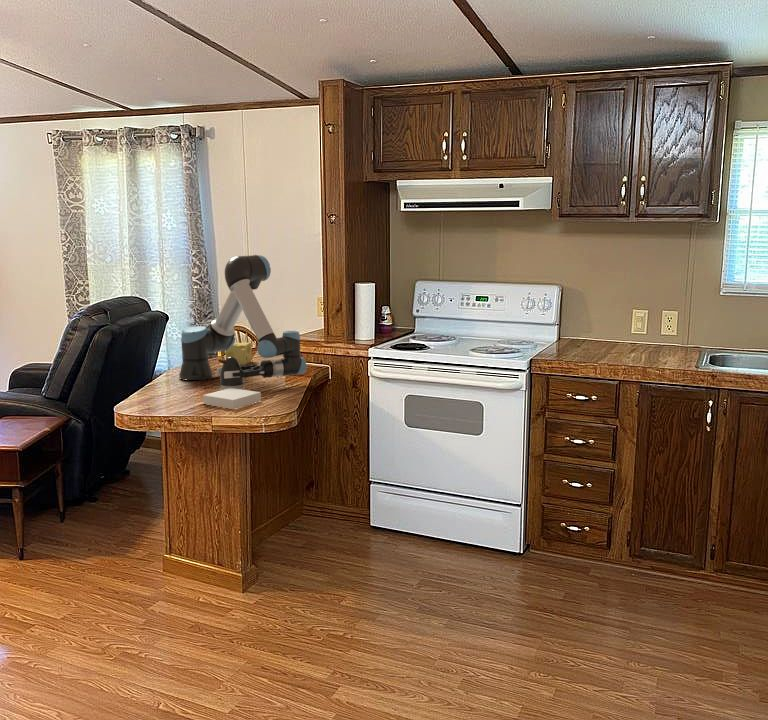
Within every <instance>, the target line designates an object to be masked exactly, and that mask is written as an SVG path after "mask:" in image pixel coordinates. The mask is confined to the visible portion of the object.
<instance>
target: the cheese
mask: <svg viewBox="0 0 768 720" xmlns="http://www.w3.org/2000/svg"><path fill="white" fill-rule="evenodd" d="M252 351H253V349H252V343H251V342H234V344H233V346H232V347H231V348H230V349H228V350H225V360H226V359H227V358H228V357H234V358H236V359H237V361H238V362H239V364H240V365H248V364H249V363H252V356H253V352H252Z"/></svg>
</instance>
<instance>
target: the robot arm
mask: <svg viewBox="0 0 768 720" xmlns="http://www.w3.org/2000/svg"><path fill="white" fill-rule="evenodd" d="M224 267H225V268H224V279H225V282H226V285H227V287H228V289H229V291H230V292H229V294H228V297H227V298H226V299H225V302H224V304H223V306H222V308H221V309H220V312H219V314H218V316H217V318H216V319H213V320H212V321H211V322H210V324H209V327H206V326H202V325H199V326H197V325H196V326H191V327H187V328H185V329H183V330H182V331H181V339H180V341H181V355H182V356H181V357H182V359H181V360H182V363H181V367H180V371H179V374H178V378H181V379H187V380H203V381H207V380H206V379H208V380H211V379H213V377H214V374H213V371H212V368H211V366H210V362H209V354H212V353H213V354H214V353H218V352H224V351H225V352H226V350H228V349H230V348H231V347H232V346H233V344H234V343H236V342H235V341H236V333H235V332H236V331H235V325H236V323H237V321H238V320H239V317H240V316H241V314H242V312H243V314H244V315H245V317H246V319H247V322H248V324H249V325H250V327H251V329H252V331H253V333H254V335H255V337H256V339H257V341H258V343H257V348H256V349H257V353H258V355H260V357H261V358H265V359H266V360H265V359H264V360H261V362H260V365H258V364H254V363H252V364H245V365H240V367H241V369H240V371H228V372H224V378H225V379H226V378H236V377H243V378H244V379H245V378H246V379H247V378H252V377H259V376H260V377H261V376H262V378H265V379H266V378H274V377H276V378H277V379H278V378H280V377H286V376H293V375H294V376H297V375H302V374H305V372H306V371H307V361H306V359H305V358H304V357H302V356H301V333H300V332H299V331H298V330H285V331H283V332H282V335H281V337H280V336H279V337H277V336H276V334H275V332H274V330H273V328H272V325H270V322H269V320H268V319H267V317H266V314H265V312H264V311H263V309H262V306H261V305H260V303H259V301H258V299H257V297H256V295H255V293H254V291H256V290H257V289H258V288H259V287H260V285H261V283H262V282H265V281H266V280H268V279H269V278H270V276H271V271H272V270H271V265H270V262H269V261H268V259H267V258H266V257H265V256H263V255H261V254H252V255H235V256H233V257H232V258H230V259H229V260H228V261H227V263H226V264H225V266H224ZM278 356H283V358H276V359H271V358H275V357H278ZM268 358H270V359H268ZM216 369H217V371H216V373H217V374H216V375H220V373H221V369H222V367H217V368H216Z"/></svg>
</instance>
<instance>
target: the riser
mask: <svg viewBox="0 0 768 720" xmlns="http://www.w3.org/2000/svg"><path fill="white" fill-rule="evenodd" d="M261 395H262V392H261V391H255V390H254V391H253V390H248V389H243V388H242V389H235V388H228V389H225V390H222V389H221V390H218V391H214V392H213V391H212V392H209V393H206V394H203V395H202V398H203V399H202V402H203V403H202V404H207V405H212V406H211V407H213V406H219V407H224V408H223V409H225V408H230V409H235V408H239V407H242V406H245V405H249V404H252V403H255V402H259V401H261V402H262V400H261V399H262V396H261ZM259 403H260V402H259ZM207 405H206V406H207ZM252 405H253V404H252ZM249 406H250V405H249ZM219 407H218V408H219ZM242 408H243V407H242ZM230 409H229V410H230ZM239 409H240V408H239Z"/></svg>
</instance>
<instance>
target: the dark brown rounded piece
mask: <svg viewBox="0 0 768 720" xmlns="http://www.w3.org/2000/svg"><path fill="white" fill-rule="evenodd" d="M218 363H221V364H222V366H221V368H222V369H221V373H220V374H219V386H220V389H221V390H225V389H228V388H235V389H242V390H243V387H244V384H245V378H243V377H236V378H226V379H225V378H224V372H228V371H240V369H241V367H240V364H239V362H238V361H237V359H236V358H234V357H228V358H227V359H226V358H225V360H223V359H218Z"/></svg>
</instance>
